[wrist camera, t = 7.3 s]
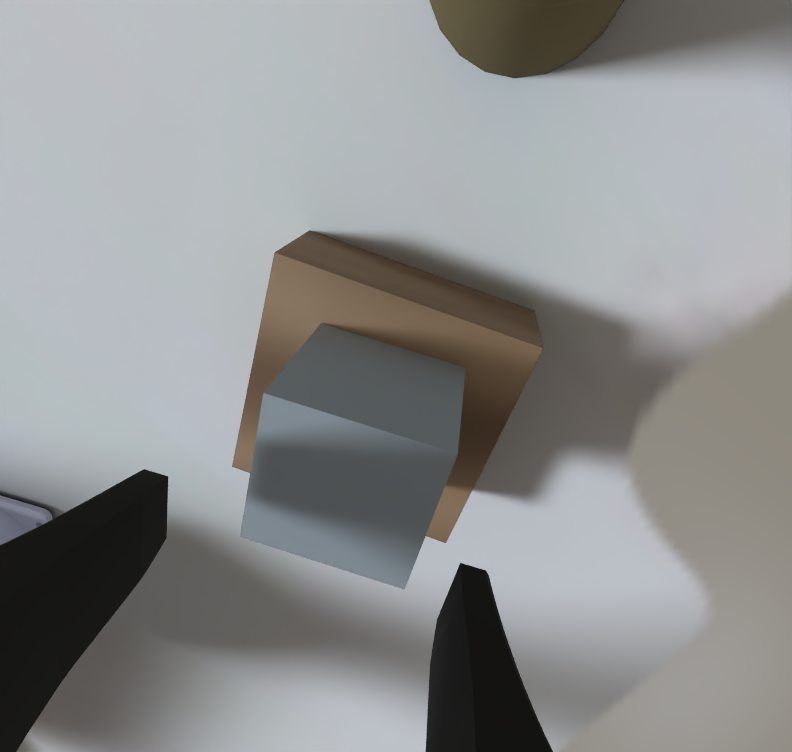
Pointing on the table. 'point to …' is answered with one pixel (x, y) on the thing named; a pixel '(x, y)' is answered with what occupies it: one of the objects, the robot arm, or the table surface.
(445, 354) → the walnut block
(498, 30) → the cork
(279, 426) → the slate cube
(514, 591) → the table surface
